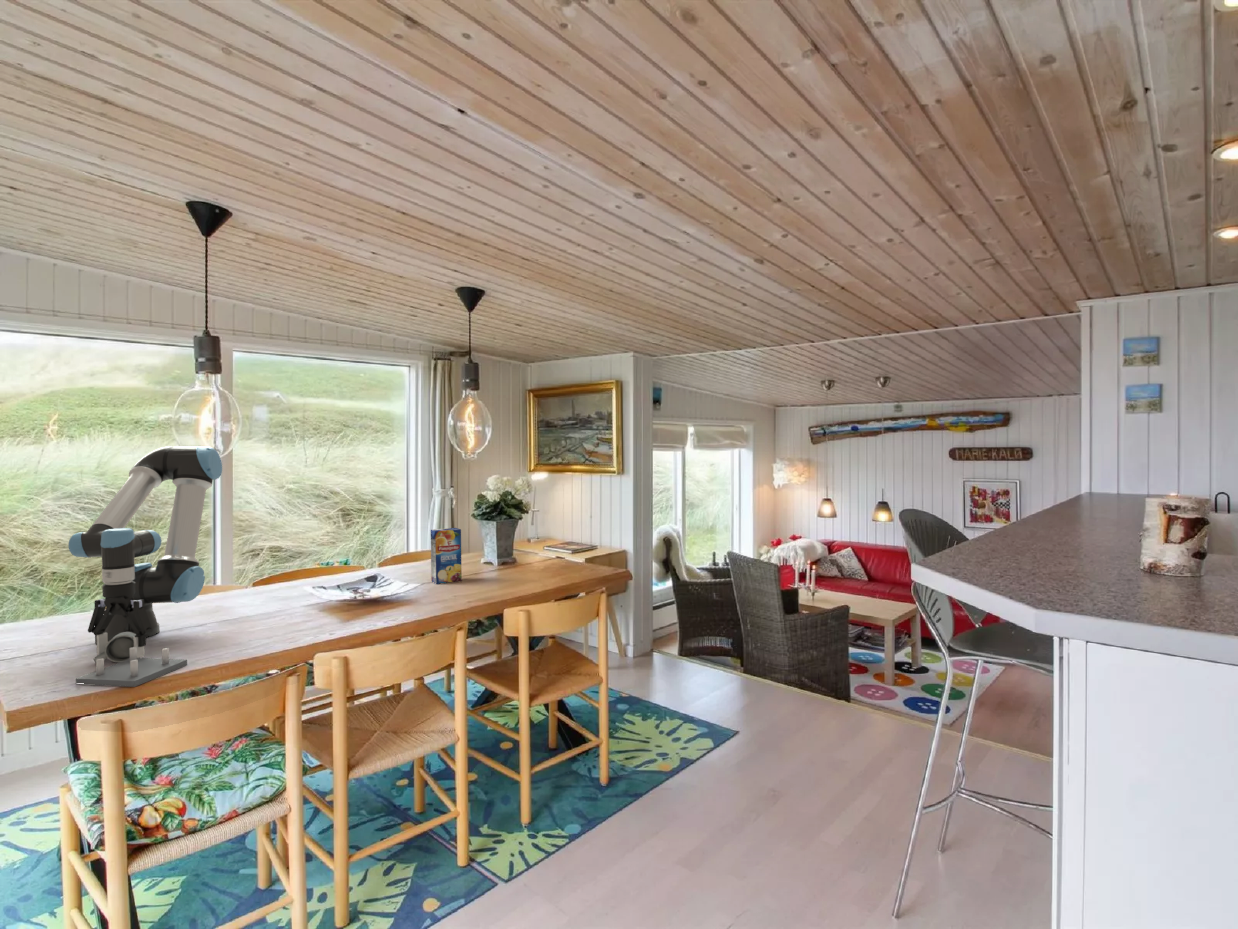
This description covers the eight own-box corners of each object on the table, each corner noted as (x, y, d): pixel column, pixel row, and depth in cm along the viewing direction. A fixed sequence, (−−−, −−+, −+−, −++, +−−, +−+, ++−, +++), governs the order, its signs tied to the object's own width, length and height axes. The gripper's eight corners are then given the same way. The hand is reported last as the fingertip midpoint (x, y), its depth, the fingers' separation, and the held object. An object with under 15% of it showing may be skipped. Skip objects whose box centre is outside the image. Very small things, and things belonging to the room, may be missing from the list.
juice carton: (456, 578, 303) (455, 527, 302) (461, 581, 296) (461, 529, 296) (431, 581, 296) (430, 529, 296) (435, 584, 290) (435, 531, 289)
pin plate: (76, 684, 167) (75, 663, 167) (133, 662, 184) (132, 643, 184) (134, 686, 165) (134, 665, 165) (187, 664, 182) (186, 645, 182)
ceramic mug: (141, 652, 193) (140, 627, 193) (138, 660, 186) (137, 633, 186) (96, 659, 187) (95, 633, 187) (91, 667, 180) (90, 640, 180)
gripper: (70, 584, 184) (72, 659, 185) (144, 585, 181) (146, 662, 182) (94, 578, 191) (96, 651, 192) (166, 580, 188) (168, 654, 189)
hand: (120, 657), depth 187 cm, fingers closed on ceramic mug, 11 cm apart
